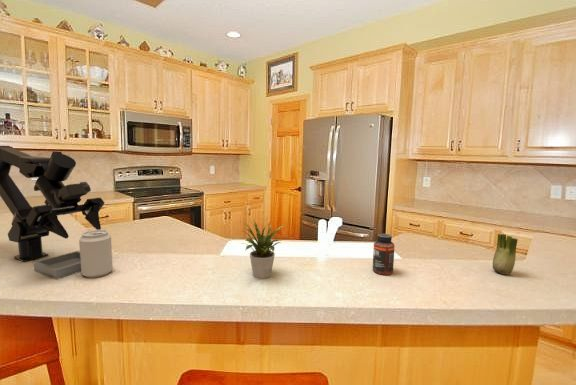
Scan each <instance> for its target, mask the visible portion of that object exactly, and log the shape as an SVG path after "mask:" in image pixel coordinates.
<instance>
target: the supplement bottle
mask: <svg viewBox="0 0 576 385" xmlns="http://www.w3.org/2000/svg"><path fill="white" fill-rule="evenodd" d="M376 238H377V239H376V240H375V241H374V243H373V250H372V251H373V252H372V255H373V256H372V271H373V272H374V273H376V274H377V275H384V276H389V275H392V274H393V273H394V262H395V244H394V242H392V239H393V237H392V235H391V234H388V233H378V234H377V237H376Z"/></svg>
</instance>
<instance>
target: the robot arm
mask: <svg viewBox="0 0 576 385" xmlns="http://www.w3.org/2000/svg"><path fill="white" fill-rule="evenodd" d="M76 165H77V162H76V160H75V159H74V158H72V157H71V156H69V155H66V154H64V153H62V151H52V152H51V155H50V157H45V156H33V155H30V154H27V153H25V152H23V151H20V150H18V149H16V148H14V147H13V146H10V145H0V197H1V199H2V201H3V202H4V204H5V206H6V207H7V208H8V210H9V211H10V213H11V214H12V220H11V228H10V229H9V231H8V232H7V237H8V240H9V242H14V243H17V247H18V248H17V250H18V255H14V259H16V260H18V261H21V262H29V261H31V260H36V259H40V258H43V257H47V256H49V254H48V253H46V252H44V250H43V242H42V237H48V236H49V235H50V232H51V233H52V234H55V235H57V236H60V237H61V238H64V239H66V240H67V239H68V238H69V237H70V236H69V234H68V232H67V230H66V228H65V227H64V226H63V225H62V223H61V220H59V217H58V216H62V215H63V216H65V215H70V214H76V213H81V214H82V215H83V216H85V217H84V219H85V220H86V221H87V222H88V223H89V224H90V225H91V226H92V227H93V229H94V230H102V226H101V223H100V222H101V221H100V215H99V212H100V211H101V209H102V208H103V207H104V205H105V201H104V200H103V199H102V197H91V198H87V199H86V200H85V202H84V203H82V204H79V203H80V202H81V200H82V198H81V197H83V196H86V195H87V194H88V193H90V192H91V186H90V184H89V183H88V182H87V181H80V182H79V183H73V184H72V183H70V184H67V185H65V184H64V181H66V180H68V178H70V175H71V174H72V172H73V170H74V169H75V167H76ZM12 166H13V167H16V168H18V169H19V171H18V172H19V174H21V175H22V176H24V177H25V178H27V179H35V178H37V179H36V181H35V182H34V186H33V190H34V191H35V192H39V191H40V192H41V194H42V196H43V198H45V200H44V204H42V205H36V206H34V205H33V206H31V204H30V203H29V201H28V200H27V199H26V197H25V196H24V194H23V193H22V192H21V189H19V187H18V186H17V185H16V182H15V181H14V180H13V179H12V176H10V172H11V169H12Z"/></svg>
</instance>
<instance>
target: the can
mask: <svg viewBox="0 0 576 385" xmlns="http://www.w3.org/2000/svg"><path fill="white" fill-rule="evenodd" d="M78 241H79V243H78V244H79V251H80V259H81V272H80V273H81V275H83V276H85V277H86V278H91V279H92V278H99V277H104V276H106V275H108V274H109V273H110V272H111V271H112V270H113V268H114V267H113V266H114V265H113V250H112V249H113V248H112V235H111V234H109V231H108V230H106V229H100V230H97V229H92V230H87V231H84V232H81V237H79V239H78Z"/></svg>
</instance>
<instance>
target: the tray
mask: <svg viewBox="0 0 576 385" xmlns="http://www.w3.org/2000/svg"><path fill="white" fill-rule="evenodd" d="M33 269H34V271H35V272H36V273H39V274H42V275H44V276H47V277H49V278H52V279H55V280H59V279H61V278H64V277H67V276H70V275H74V274H78V273H81V259H80V250H75V251H71V252H67V253H63V254H59V255H56V256H55V255H54V256H51V257H48V258H43V259H40V260H36V261H34V262H33Z"/></svg>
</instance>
